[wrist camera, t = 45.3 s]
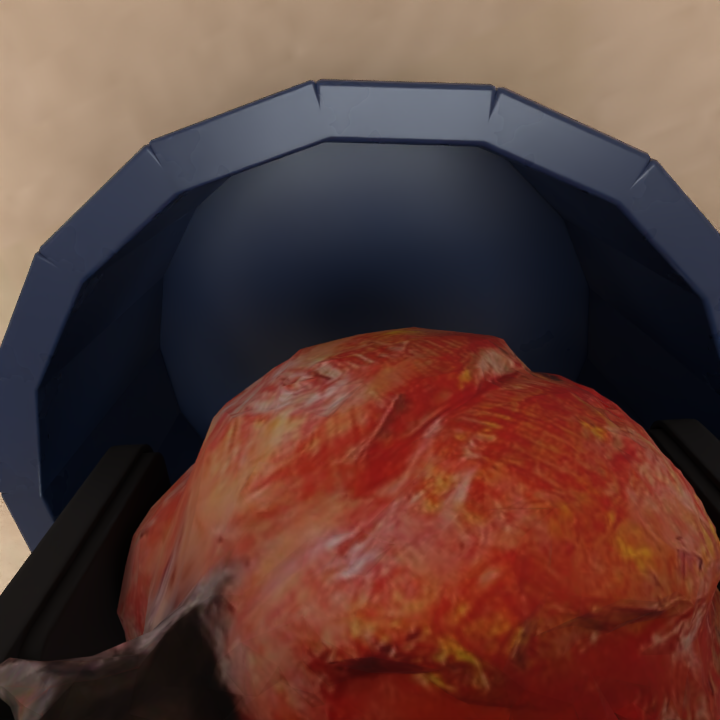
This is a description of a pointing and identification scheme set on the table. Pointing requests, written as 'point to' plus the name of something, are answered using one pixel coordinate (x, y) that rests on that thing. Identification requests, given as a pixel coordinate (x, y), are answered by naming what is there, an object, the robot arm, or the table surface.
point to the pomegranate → (409, 556)
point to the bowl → (349, 269)
